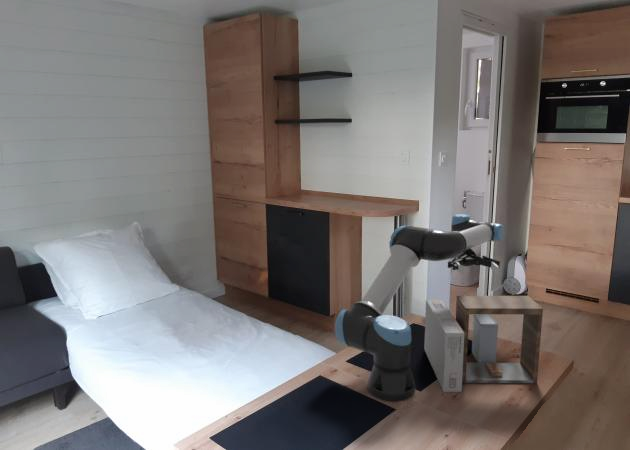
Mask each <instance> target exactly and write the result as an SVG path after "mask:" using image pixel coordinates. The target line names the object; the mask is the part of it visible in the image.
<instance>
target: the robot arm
mask: <svg viewBox="0 0 630 450" xmlns="http://www.w3.org/2000/svg"><path fill="white" fill-rule="evenodd" d="M450 226H451V227H450V229H451V231H445V230H439V229H433V228H432V229H431V228H425V227H418V226H413V225H401V226H398V227H397V228H395V229H394V230H393V232H392V234H391V236H390V240H389V253H390V256H389V258H388V259H387V261H386V263H384V265H383V267H382V269H381V270H380V271H379V273H378V274H377V276H376V278H375V279H374V280H373V282H372V283H371V286H370V287H369V289H368V290H367V292H366V293H365V295H364V296H363V297H362V298H361V301H356V302H354V303H353V305H352V306H351V308H350V309H348V308H346V309H342V310H340V312H339V313H338V314H337V316H336V318H335V319H336V320H335V325H334V331H335V332H334V333H335V336H336V339H337V340H338V342H339V343H340V344H343V345H344V346H345V345H346V346H347V347H348V348H352V349H356V350H359V351H362V352H365V353H367V354H370V355H373V366H372V370H371V372H370V374H369V377H368V381H367V388H368V391H369V392H370V394H371V395H372V396H374V397H376V398H378V399H379V400H384V401H388V402H389V401H390V402H399V401H404V400H405V401H406V400H407V399H410V398H412V397H413V396H414V395H415V393H416V382H415V378H414V375H413V372H412V370H411V369H412V368H411V356H412V355H411V354H412V353H411V352H412V339H413V338H412V329H411V326H410V324H409V323H408V322H407V320H405V319H403V318H401V317H399V316H396V315H388V314H384V313H385V311H386V309H387V308H388V306H389V304H390V303H391V301H392V300H393V298H394V296H395V295H396V293H397V291H398V290H399V288H400V287H401V284H402V283H403V281H404V280H405V279H406V276H407V274H408V273H409V271H410V270H411V268H415V267H417V266H418V265H419V263H420V261H421V260H422V261H423V260H424V261H425V260H426V261H430V262H440V261H447V260H448V261H447V268H448V269H451V268H452V271H457V272H458V273H459V274H463V267H470V266H474V265H475V266H478V267H479V266H483V267H486V268H490V269H491V270H492V271H493V272H494V273H495V274H499V268H500V264H501V261H500V260H497V259H494V258H491V257H488V256H486V255H481V256H478V255H477V254H476V252H475V251H474V250H473V248H475V247H477V246H480V245H483V244H484V243H486V242H497V243H498V242H501V241H502V240H503V239H504V235H505V229H504V228H505V227H504V225H503V224H501V223H496V222H488V221H477V220H471V216H470V215H469V214H464V213H457V214H454V215H453V216H452V217H451V224H450Z"/></svg>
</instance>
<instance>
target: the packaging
mask: <svg viewBox="0 0 630 450" xmlns="http://www.w3.org/2000/svg"><path fill="white" fill-rule="evenodd" d="M424 315H425V322H424V323H425V325H424V348H423V349H424V352H425V354H426V357H427V358H428V361H429V363H430V366H431V368H432V370H433V372H434V374H435V377H436V378H437V381H438V384H439V385H440V388H441V390H442V392H446V393H447V392H450V393H451V392H462V391H463V389H462V387H463V383H462V372H463V352H464V331H463V330H462V328H461V327H460V325H459V324H458V323H457V321H456V317H454V315H453V314H452V312H451V311H450V309H449V308H448V306H447V305H446V303H445V302H444V301H443V300H442V299H426V300H425V314H424Z"/></svg>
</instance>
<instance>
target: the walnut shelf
mask: <svg viewBox="0 0 630 450" xmlns="http://www.w3.org/2000/svg"><path fill="white" fill-rule="evenodd" d="M455 306H456V308H455V320H456V321H457V323H458V324H459V325H460V327H461V328H462V330H463V331H464V352H463V372H462V384H464V383H466V384H468V383H470V384H471V383H476V384H477V383H478V384H479V383H481V384H482V383H483V384H489V383H490V384H495V383H496V384H538V374H539V373H538V372H539V362H540V361H539V360H540V348H541V338H542V337H541V336H542V327H543V326H542V323H543V312H544V311H543V310H544V308H543V307H542V306H541V305H539V303H537V302H536V301H535V300H534V299H533V298H531V296H530V295H456V305H455ZM470 315H523V319H522V331H521V347H520V358H519V362H517V363H516V362H496V363H478V362H468V361H467V360H468V347H469V346H468V344H469V328H470V327H469V324H470V323H469V322H470Z"/></svg>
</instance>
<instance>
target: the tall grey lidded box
mask: <svg viewBox="0 0 630 450" xmlns="http://www.w3.org/2000/svg"><path fill="white" fill-rule="evenodd" d="M498 330H499V323H498V322H497V321H496V320H495V318H494V317H493V316H492V314H473V321H472V338H471V339H472V341H471V342H472V343H471V354H472V355H473V357H474V358H475V360H476V363H497V361H496V360H497V345H498V344H497V343H498Z"/></svg>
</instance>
